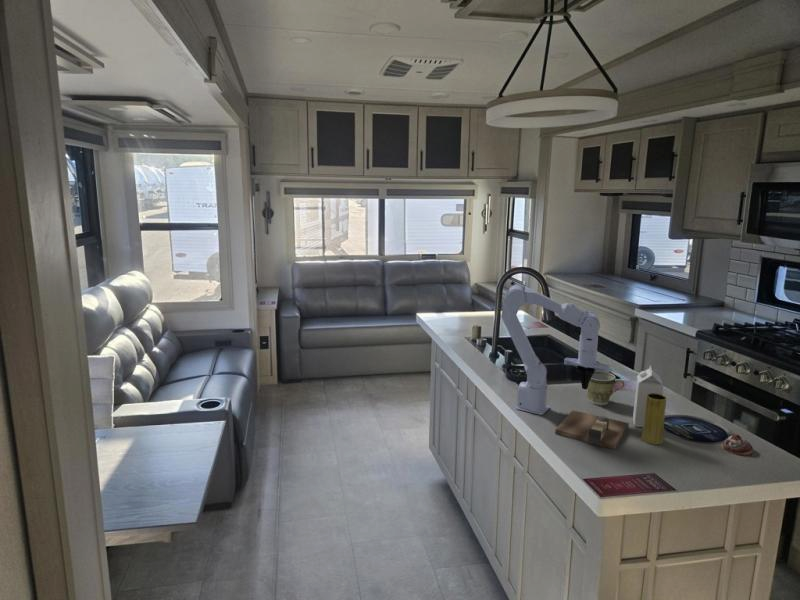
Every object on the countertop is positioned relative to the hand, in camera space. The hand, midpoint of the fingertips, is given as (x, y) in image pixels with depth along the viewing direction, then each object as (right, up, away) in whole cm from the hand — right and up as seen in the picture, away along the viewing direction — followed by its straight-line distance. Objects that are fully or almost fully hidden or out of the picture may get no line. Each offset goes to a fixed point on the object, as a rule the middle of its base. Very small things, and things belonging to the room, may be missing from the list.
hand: (584, 388), depth 183 cm
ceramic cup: (+10, -7, +12) cm, 17 cm away
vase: (+15, -13, -16) cm, 26 cm away
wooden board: (-1, -12, -10) cm, 16 cm away
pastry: (+37, -15, -22) cm, 46 cm away
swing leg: (-1, -11, -16) cm, 20 cm away
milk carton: (+18, -11, -5) cm, 22 cm away
